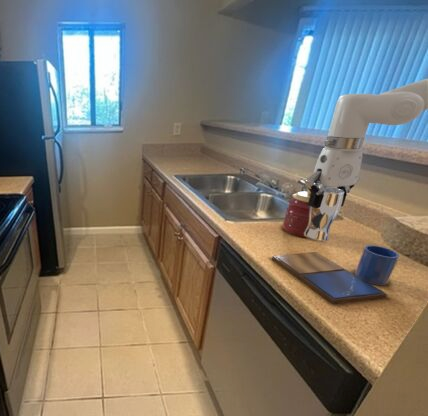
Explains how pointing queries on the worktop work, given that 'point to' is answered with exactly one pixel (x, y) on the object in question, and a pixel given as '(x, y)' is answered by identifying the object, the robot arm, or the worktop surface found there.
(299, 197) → the kitchen canister
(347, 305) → the worktop surface
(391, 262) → the blue tumbler
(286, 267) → the sorting board
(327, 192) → the beer glass
